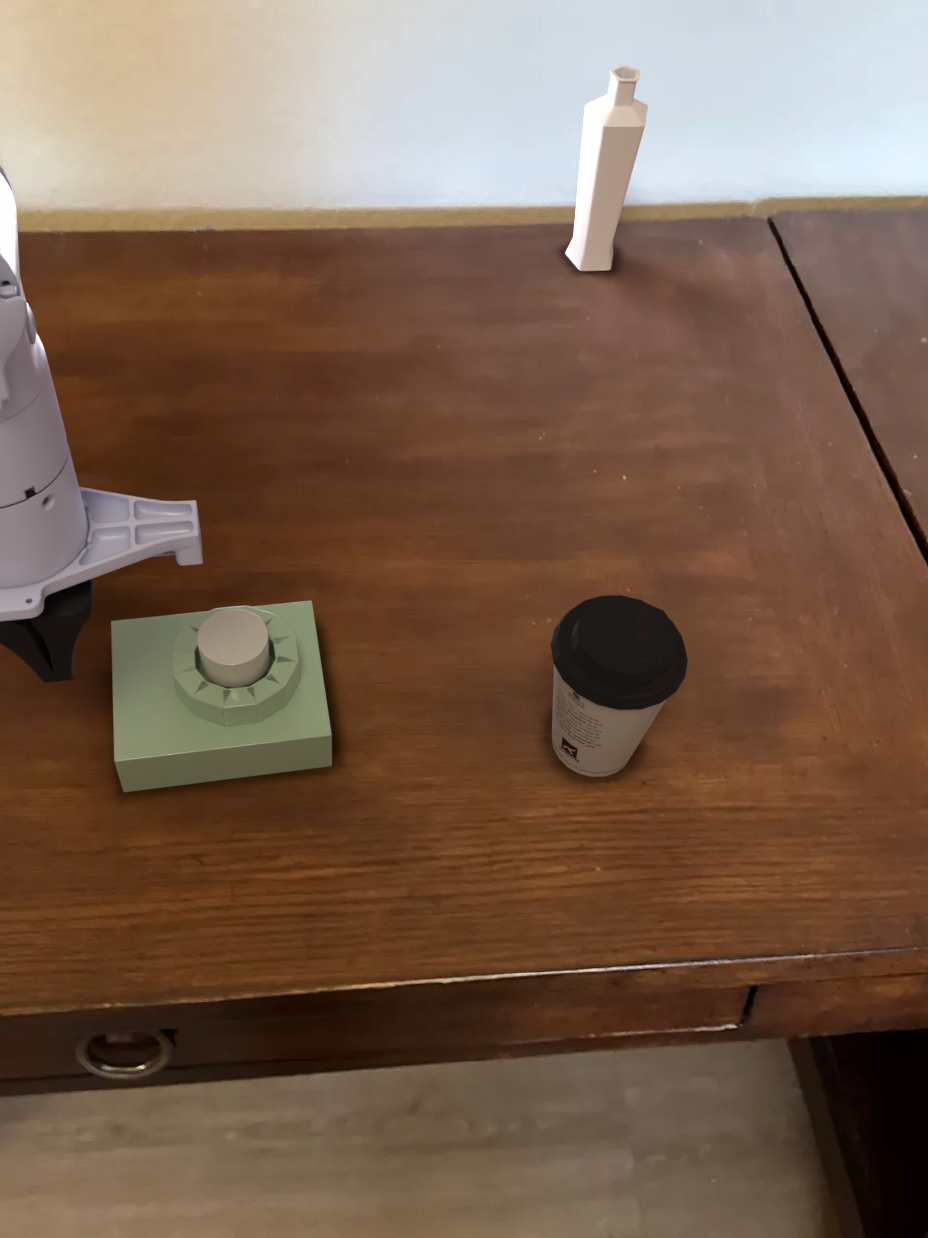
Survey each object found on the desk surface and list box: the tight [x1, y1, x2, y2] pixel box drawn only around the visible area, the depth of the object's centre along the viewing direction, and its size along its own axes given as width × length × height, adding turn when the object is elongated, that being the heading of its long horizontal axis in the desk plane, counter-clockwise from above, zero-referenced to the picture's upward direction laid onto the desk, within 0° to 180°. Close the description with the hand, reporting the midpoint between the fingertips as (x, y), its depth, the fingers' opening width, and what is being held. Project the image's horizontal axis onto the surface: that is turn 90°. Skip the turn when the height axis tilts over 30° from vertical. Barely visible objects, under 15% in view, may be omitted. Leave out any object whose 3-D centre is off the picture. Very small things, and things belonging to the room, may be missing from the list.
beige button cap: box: [197, 609, 270, 687], centre depth 63 cm, size 4×4×2 cm
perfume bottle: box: [564, 64, 649, 272], centre depth 89 cm, size 5×4×15 cm
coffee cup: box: [550, 594, 689, 778], centre depth 64 cm, size 7×7×10 cm
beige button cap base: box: [110, 600, 333, 793], centre depth 65 cm, size 11×9×5 cm
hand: (58, 664), depth 56 cm, fingers closed
